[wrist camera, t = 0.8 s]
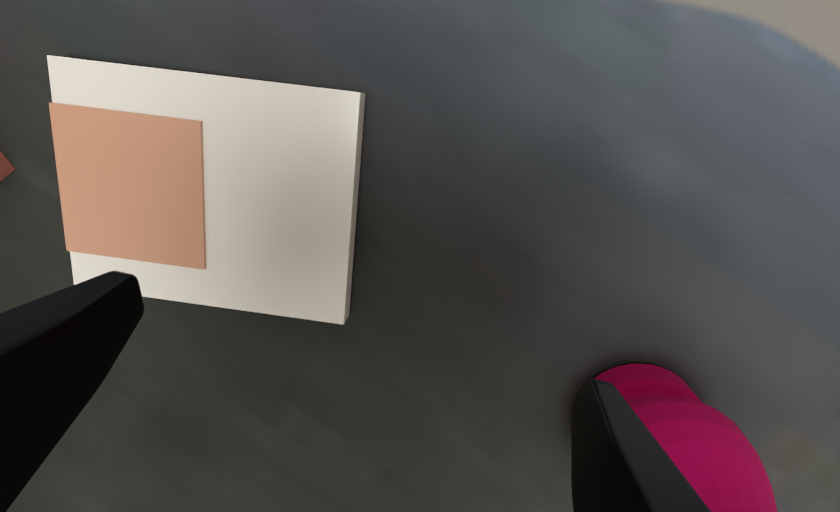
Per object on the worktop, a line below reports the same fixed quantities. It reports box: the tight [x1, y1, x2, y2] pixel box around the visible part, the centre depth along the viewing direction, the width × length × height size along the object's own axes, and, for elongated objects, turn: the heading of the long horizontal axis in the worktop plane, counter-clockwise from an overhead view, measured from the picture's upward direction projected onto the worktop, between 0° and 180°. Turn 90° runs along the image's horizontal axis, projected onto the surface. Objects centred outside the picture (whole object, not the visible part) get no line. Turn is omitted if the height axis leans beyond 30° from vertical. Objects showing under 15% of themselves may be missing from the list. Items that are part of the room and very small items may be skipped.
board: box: [47, 55, 366, 325], centre depth 22 cm, size 14×11×1 cm
